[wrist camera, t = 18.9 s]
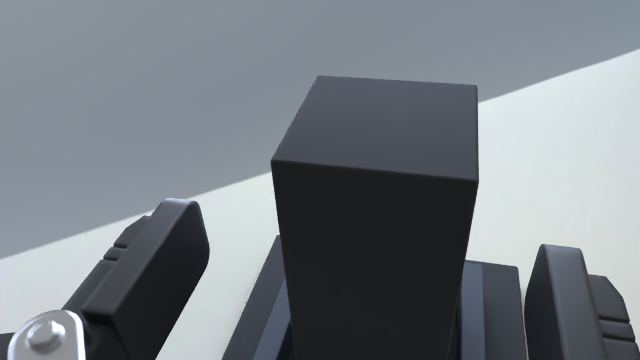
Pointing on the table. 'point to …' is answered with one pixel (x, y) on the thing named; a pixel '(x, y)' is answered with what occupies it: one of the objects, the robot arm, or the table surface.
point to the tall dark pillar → (376, 216)
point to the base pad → (468, 331)
